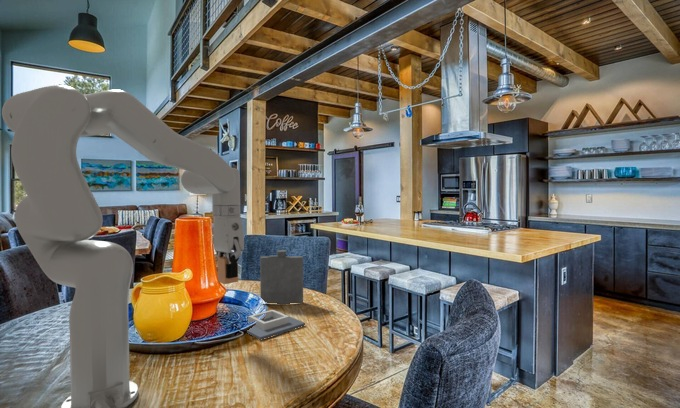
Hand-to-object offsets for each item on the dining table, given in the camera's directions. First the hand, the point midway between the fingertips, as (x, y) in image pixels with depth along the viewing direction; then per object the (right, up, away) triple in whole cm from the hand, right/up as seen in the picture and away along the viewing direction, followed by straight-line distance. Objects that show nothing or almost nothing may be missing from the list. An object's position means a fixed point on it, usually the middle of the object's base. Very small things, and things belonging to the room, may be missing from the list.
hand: (227, 275), depth 100 cm
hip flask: (+10, -17, +32) cm, 38 cm away
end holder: (+10, -18, +10) cm, 22 cm away
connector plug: (0, -2, 0) cm, 2 cm away
